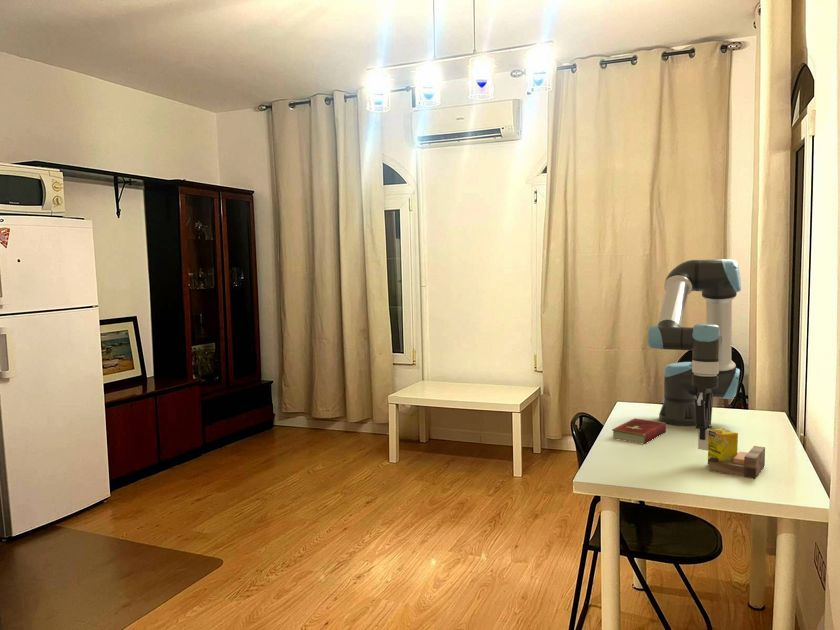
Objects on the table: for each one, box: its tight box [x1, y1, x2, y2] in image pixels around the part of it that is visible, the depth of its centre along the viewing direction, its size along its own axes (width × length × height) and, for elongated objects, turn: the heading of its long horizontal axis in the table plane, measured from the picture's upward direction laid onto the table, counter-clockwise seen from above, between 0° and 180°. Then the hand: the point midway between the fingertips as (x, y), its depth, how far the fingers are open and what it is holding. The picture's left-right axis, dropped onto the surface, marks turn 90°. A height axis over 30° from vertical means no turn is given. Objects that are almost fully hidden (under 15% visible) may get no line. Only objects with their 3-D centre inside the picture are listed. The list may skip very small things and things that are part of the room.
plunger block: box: [733, 451, 748, 464], centre depth 192 cm, size 8×3×4 cm, turn 142°
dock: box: [708, 445, 766, 480], centre depth 193 cm, size 14×12×6 cm
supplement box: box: [707, 428, 739, 465], centre depth 195 cm, size 6×6×11 cm
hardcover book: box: [611, 417, 667, 445], centre depth 232 cm, size 12×21×4 cm, turn 140°
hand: (703, 449), depth 198 cm, fingers closed
